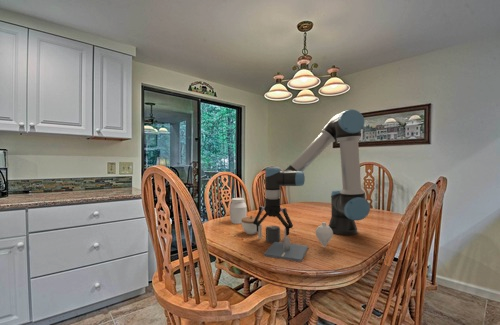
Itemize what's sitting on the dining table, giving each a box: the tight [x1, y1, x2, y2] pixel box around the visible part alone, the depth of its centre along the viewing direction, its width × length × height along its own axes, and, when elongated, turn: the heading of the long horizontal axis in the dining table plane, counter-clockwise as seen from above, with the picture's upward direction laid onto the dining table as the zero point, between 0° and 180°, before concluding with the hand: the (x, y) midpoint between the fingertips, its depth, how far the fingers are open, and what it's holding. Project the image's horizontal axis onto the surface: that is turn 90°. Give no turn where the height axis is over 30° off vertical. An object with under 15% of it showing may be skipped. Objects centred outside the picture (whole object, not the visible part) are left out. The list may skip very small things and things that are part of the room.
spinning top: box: [315, 221, 334, 249], centre depth 111 cm, size 8×8×12 cm
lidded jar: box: [241, 215, 262, 235], centre depth 135 cm, size 11×11×9 cm
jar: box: [229, 197, 248, 225], centre depth 159 cm, size 12×10×15 cm
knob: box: [265, 225, 281, 244], centre depth 122 cm, size 7×7×7 cm
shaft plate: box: [263, 236, 309, 263], centre depth 107 cm, size 16×16×6 cm
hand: (272, 239), depth 122 cm, fingers open, 13 cm apart
